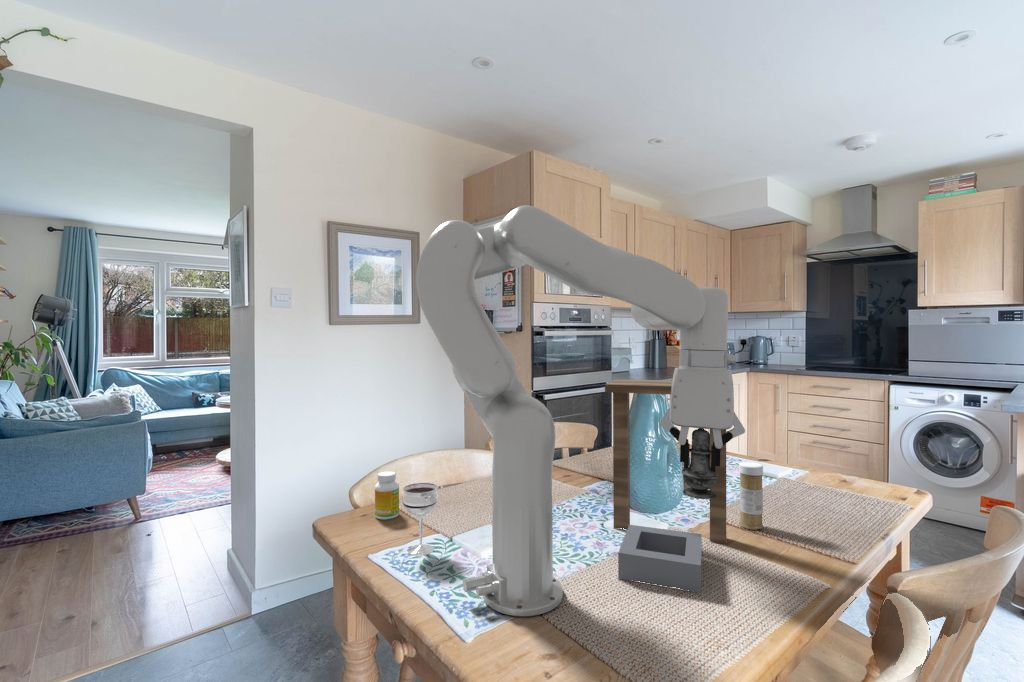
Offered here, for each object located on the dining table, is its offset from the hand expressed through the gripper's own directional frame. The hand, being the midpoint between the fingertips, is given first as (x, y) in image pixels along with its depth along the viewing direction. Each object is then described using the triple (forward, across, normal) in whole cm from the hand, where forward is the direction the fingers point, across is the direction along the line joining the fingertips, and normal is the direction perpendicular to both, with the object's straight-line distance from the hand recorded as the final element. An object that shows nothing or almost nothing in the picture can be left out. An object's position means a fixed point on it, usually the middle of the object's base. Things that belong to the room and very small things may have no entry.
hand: (699, 467), depth 83 cm
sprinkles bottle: (+18, -10, -27) cm, 34 cm away
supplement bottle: (+20, +67, -4) cm, 70 cm away
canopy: (+18, +6, -13) cm, 23 cm away
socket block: (+19, +6, -1) cm, 20 cm away
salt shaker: (+5, 0, 0) cm, 5 cm away
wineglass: (+20, +49, +9) cm, 54 cm away
